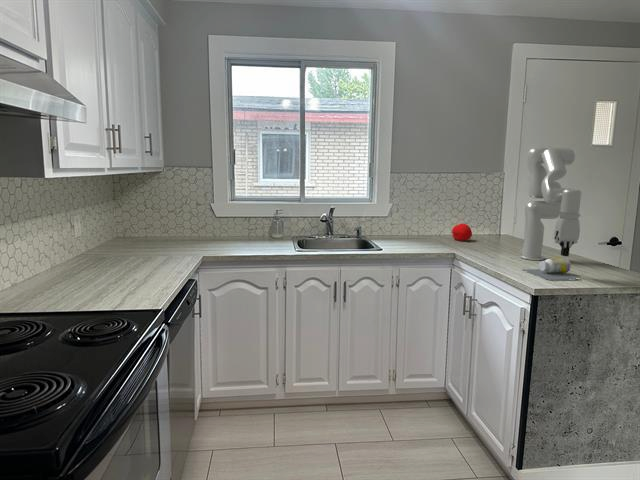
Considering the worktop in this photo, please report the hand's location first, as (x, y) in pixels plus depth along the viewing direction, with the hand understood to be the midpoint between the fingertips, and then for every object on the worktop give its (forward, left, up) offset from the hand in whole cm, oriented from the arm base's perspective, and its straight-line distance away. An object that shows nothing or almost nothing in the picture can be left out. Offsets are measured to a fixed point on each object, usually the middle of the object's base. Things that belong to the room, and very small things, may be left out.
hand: (564, 255), depth 204 cm
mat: (0, -6, -9) cm, 11 cm away
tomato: (-97, -3, -9) cm, 98 cm away
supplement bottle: (-3, +4, -5) cm, 7 cm away
